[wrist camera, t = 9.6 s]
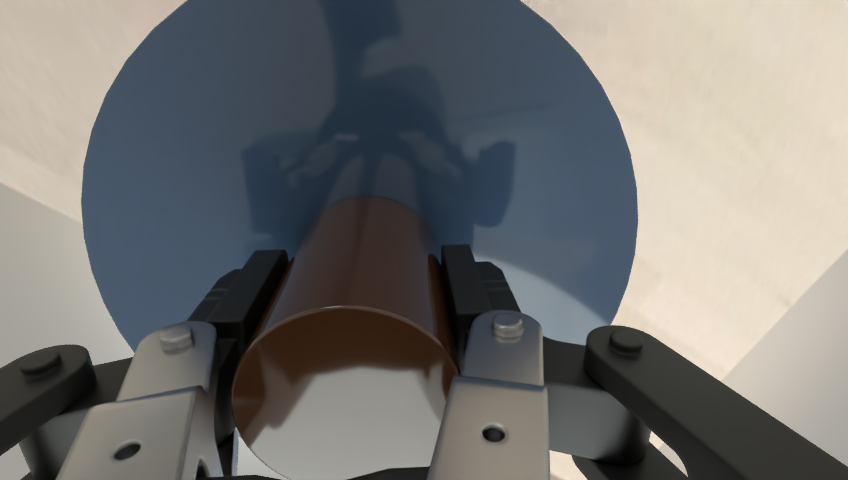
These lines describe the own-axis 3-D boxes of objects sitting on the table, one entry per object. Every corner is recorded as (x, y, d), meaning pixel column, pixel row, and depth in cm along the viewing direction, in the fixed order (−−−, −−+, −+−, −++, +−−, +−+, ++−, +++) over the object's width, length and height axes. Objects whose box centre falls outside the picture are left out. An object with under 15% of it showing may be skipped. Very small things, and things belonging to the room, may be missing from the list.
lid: (46, 337, 15) (-222, 557, 9) (219, -188, 11) (-78, -575, 4) (458, 491, 19) (490, 733, 12) (726, 146, 14) (1016, 235, 8)
